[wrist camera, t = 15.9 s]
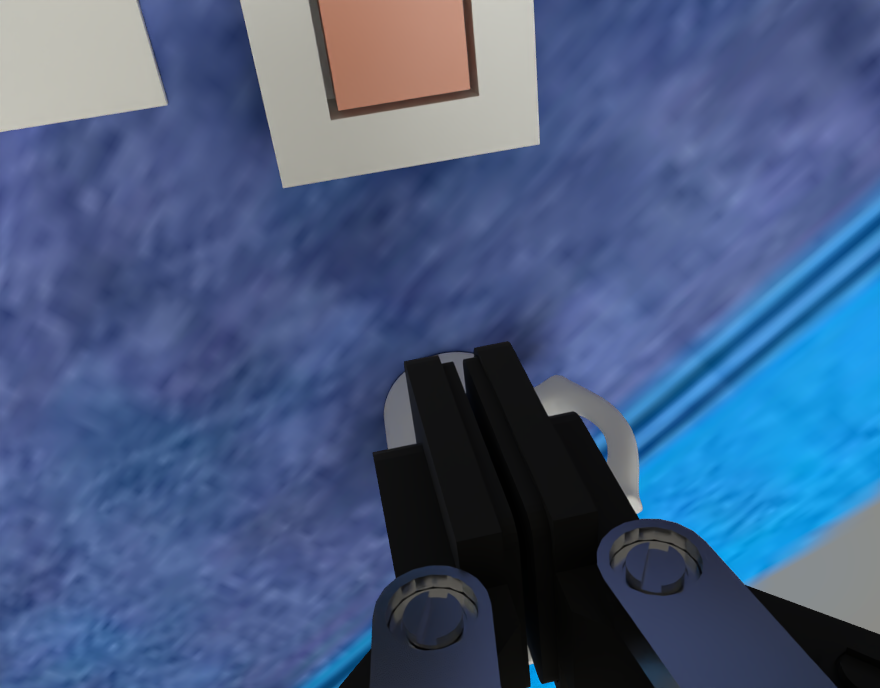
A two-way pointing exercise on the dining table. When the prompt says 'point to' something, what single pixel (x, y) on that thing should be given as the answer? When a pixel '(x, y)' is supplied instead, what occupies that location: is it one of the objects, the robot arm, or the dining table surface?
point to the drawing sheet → (74, 61)
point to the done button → (393, 49)
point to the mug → (555, 400)
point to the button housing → (395, 123)
